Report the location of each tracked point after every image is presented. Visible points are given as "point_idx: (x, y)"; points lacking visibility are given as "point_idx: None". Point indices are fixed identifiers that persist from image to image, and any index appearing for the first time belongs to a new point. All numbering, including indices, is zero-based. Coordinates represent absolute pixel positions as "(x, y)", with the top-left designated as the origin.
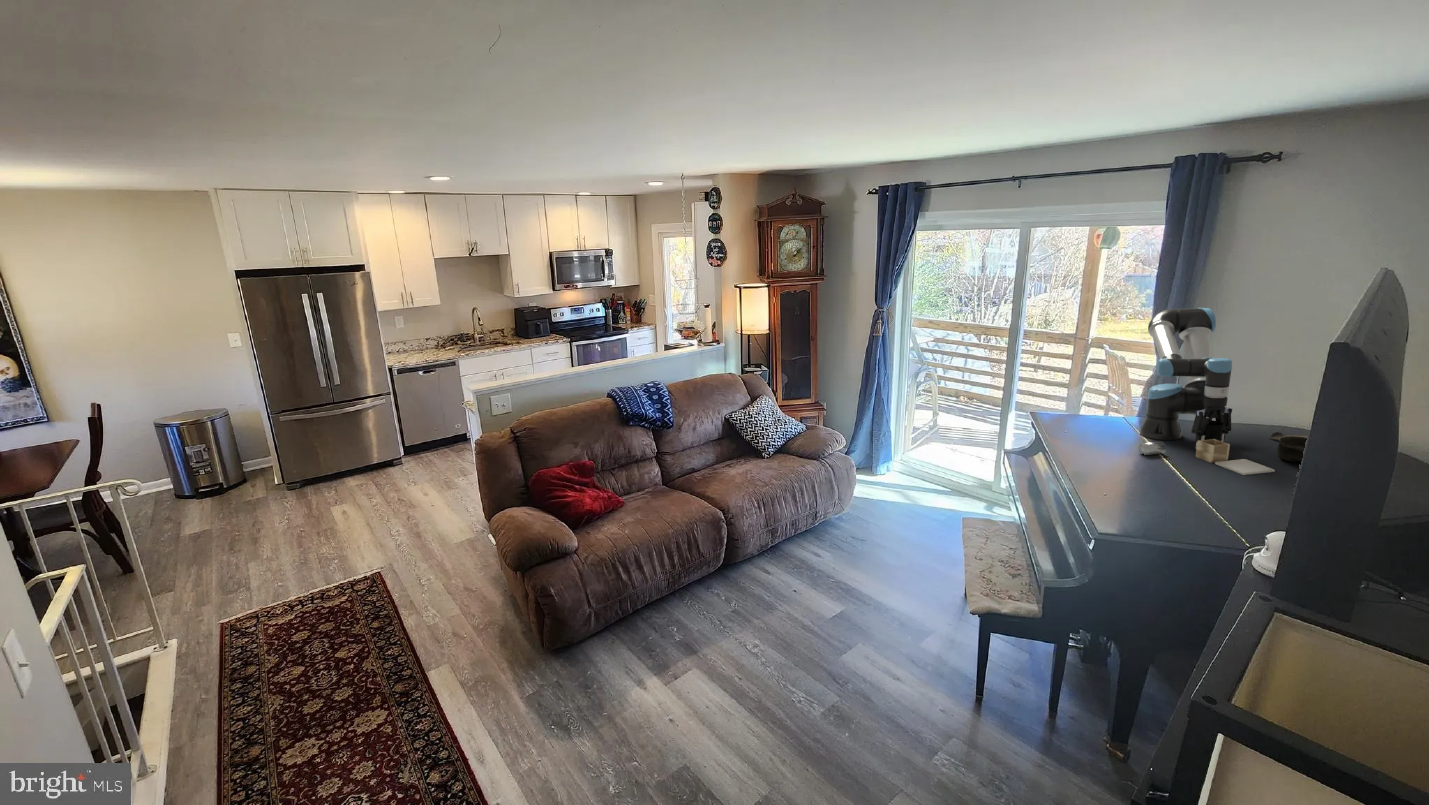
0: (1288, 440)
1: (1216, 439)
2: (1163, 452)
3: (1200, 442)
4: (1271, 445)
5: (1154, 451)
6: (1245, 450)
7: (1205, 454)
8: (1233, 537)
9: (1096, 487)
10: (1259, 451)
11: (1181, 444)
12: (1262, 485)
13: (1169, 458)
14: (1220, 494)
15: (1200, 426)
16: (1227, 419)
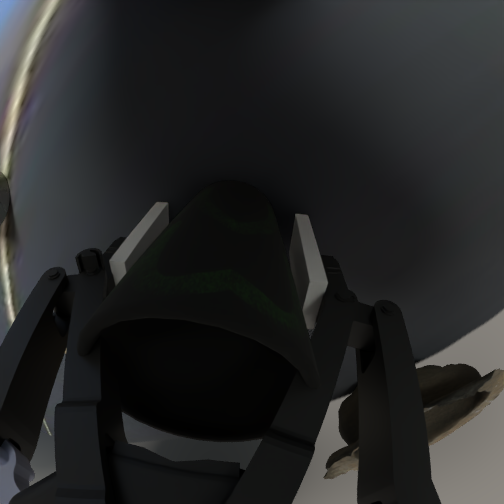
0: (465, 379)
1: (209, 326)
2: (2, 215)
3: (66, 348)
4: (500, 275)
5: None
6: (383, 289)
7: None
8: (43, 428)
9: None
10: (409, 313)
11: (166, 77)
12: (146, 427)
13: (16, 250)
14: None
15: (56, 365)
16: (363, 441)
